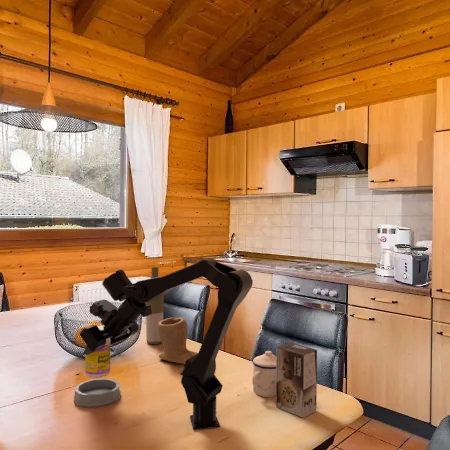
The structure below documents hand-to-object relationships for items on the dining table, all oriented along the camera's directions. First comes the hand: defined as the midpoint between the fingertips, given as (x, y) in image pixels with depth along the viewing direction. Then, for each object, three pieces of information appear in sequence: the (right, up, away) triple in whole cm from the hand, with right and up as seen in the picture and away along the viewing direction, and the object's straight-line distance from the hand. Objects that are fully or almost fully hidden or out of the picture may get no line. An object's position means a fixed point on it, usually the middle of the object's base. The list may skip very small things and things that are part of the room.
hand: (94, 349), depth 117 cm
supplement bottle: (+1, -7, 0) cm, 7 cm away
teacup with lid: (+48, -14, +4) cm, 50 cm away
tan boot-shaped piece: (+20, -13, +30) cm, 38 cm away
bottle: (+8, -12, +51) cm, 53 cm away
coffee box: (+55, -14, -6) cm, 57 cm away
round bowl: (+1, -13, 0) cm, 13 cm away
